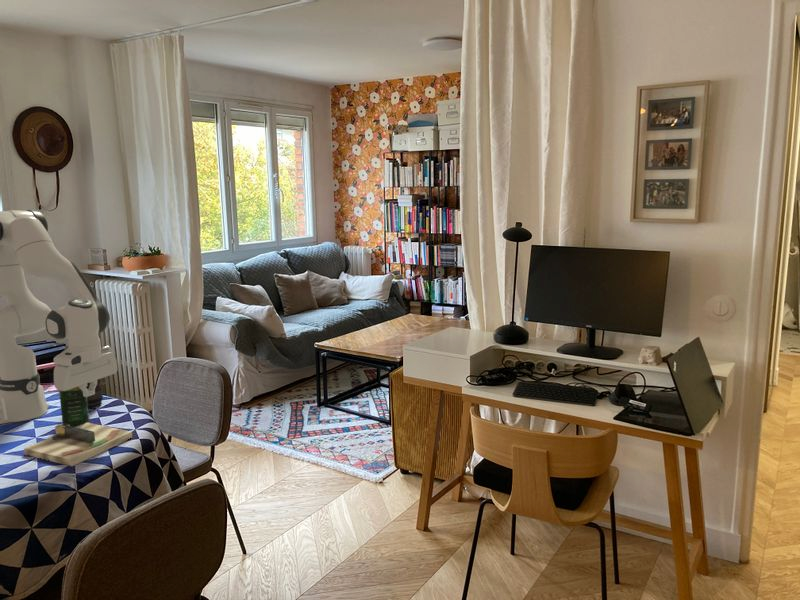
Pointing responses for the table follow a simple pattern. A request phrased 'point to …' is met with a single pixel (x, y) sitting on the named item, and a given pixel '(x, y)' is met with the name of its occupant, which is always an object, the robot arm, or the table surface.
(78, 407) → the coffee jar
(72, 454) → the dial board
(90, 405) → the camera lens
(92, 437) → the tuning needle
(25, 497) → the table surface
